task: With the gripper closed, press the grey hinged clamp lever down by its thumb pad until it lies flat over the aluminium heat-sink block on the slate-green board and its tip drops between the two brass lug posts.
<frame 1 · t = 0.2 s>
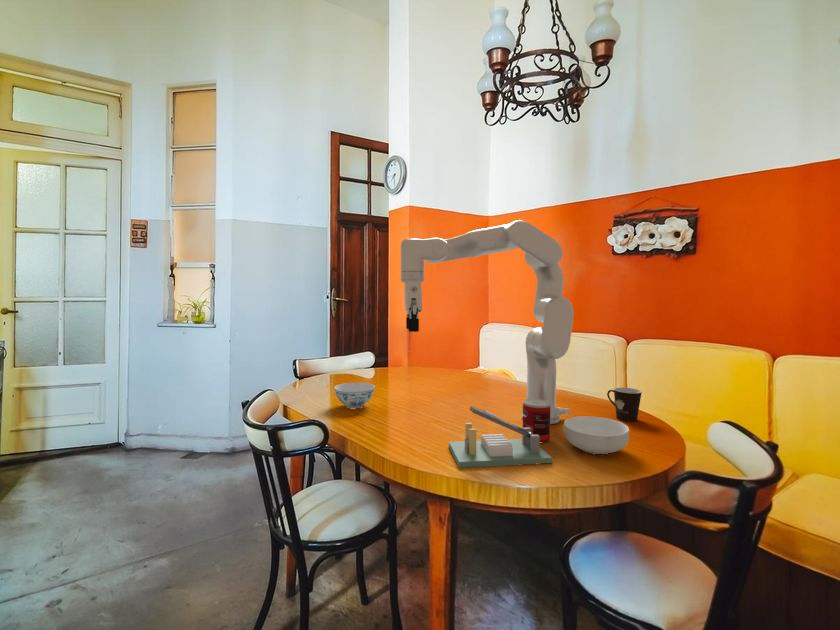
hand: (412, 330, 135), 31 cm above the table, tool pointing down, fingers open, 9 cm apart
grey hinged clamp lever: (502, 422, 110), point 9 cm above the table, hinge at 25.0°
canned food: (535, 439, 123), on the table
chinaware: (354, 407, 157), on the table
coffee mug: (624, 418, 144), on the table
cereal bowl: (595, 450, 115), on the table
clamp board: (497, 454, 110), on the table
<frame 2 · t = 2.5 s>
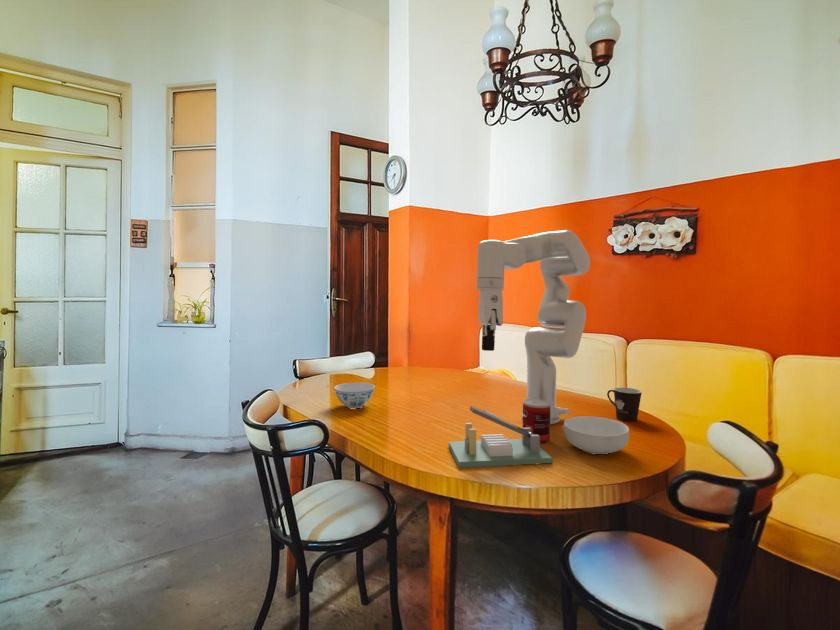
hand: (487, 350, 117), 27 cm above the table, tool pointing down, fingers closed
nothing on the table moved.
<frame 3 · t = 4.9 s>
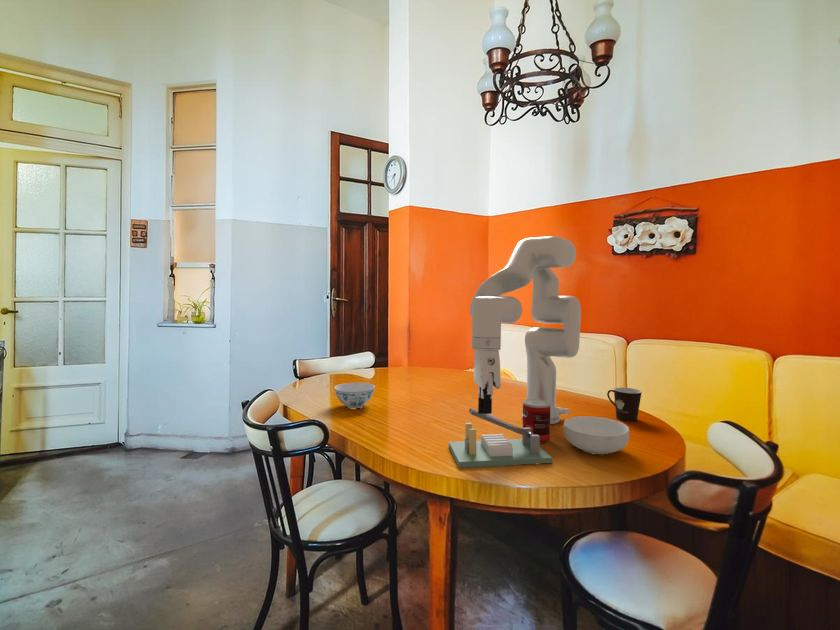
hand: (484, 412, 109), 12 cm above the table, tool pointing down, fingers closed
grey hinged clamp lever: (502, 423, 110), point 8 cm above the table, hinge at 23.1°, touching gripper
everything else where it was.
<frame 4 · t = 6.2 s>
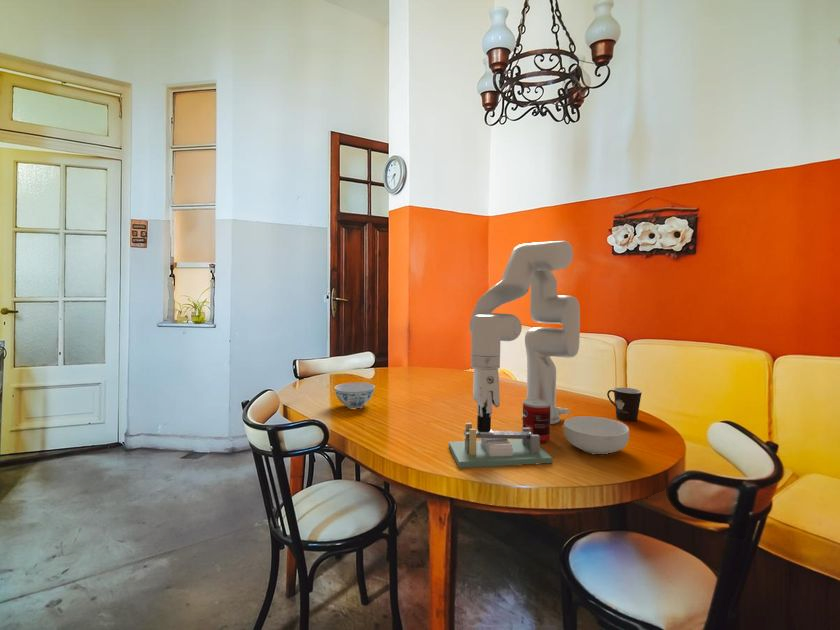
hand: (483, 430, 109), 7 cm above the table, tool pointing down, fingers closed
grey hinged clamp lever: (499, 434, 110), point 6 cm above the table, hinge at 3.3°, touching gripper
everything else where it was.
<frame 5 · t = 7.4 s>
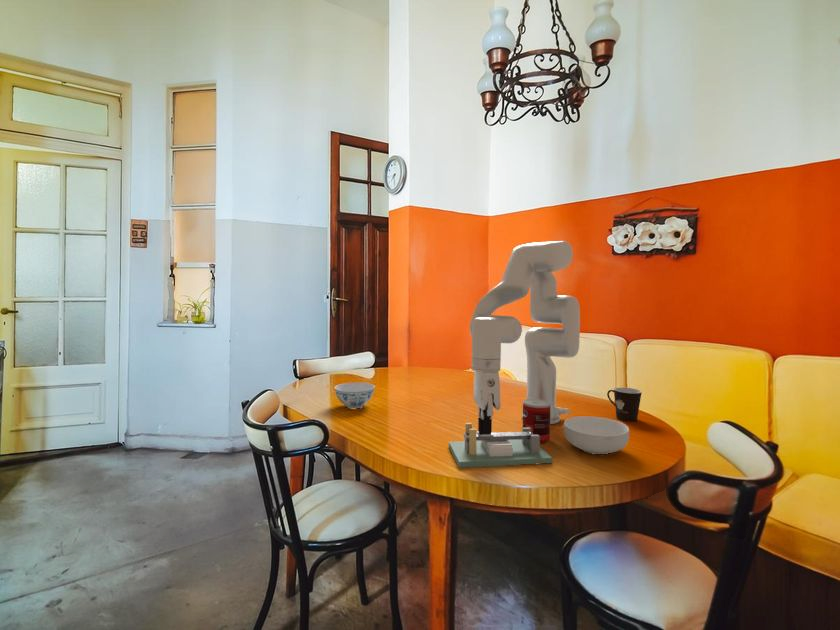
hand: (484, 433, 109), 6 cm above the table, tool pointing down, fingers closed
grey hinged clamp lever: (499, 435, 110), point 5 cm above the table, hinge at 0.6°, touching gripper
everything else where it was.
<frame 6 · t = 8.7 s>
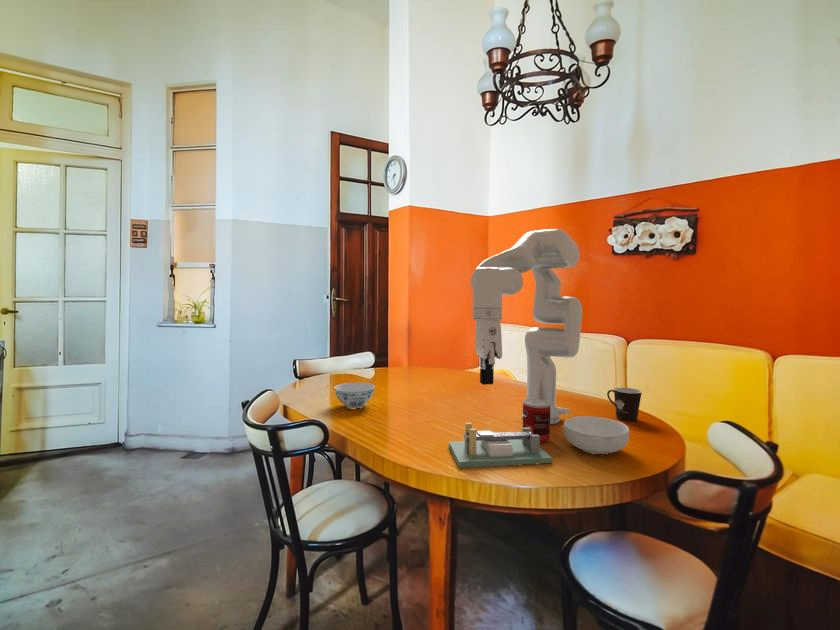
hand: (486, 383, 110), 19 cm above the table, tool pointing down, fingers closed
grey hinged clamp lever: (499, 435, 110), point 5 cm above the table, hinge at 0.6°
everything else where it was.
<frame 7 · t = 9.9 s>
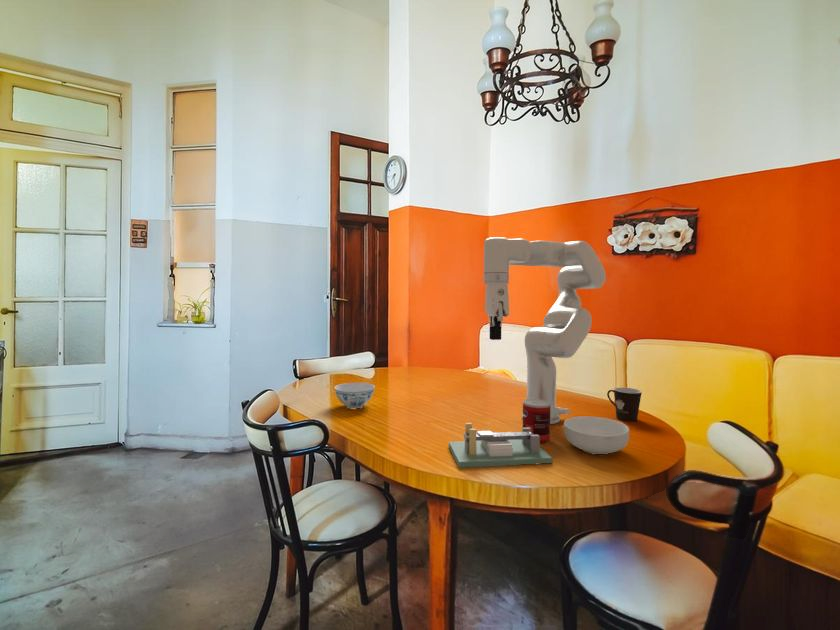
hand: (495, 339, 126), 29 cm above the table, tool pointing down, fingers closed
nothing on the table moved.
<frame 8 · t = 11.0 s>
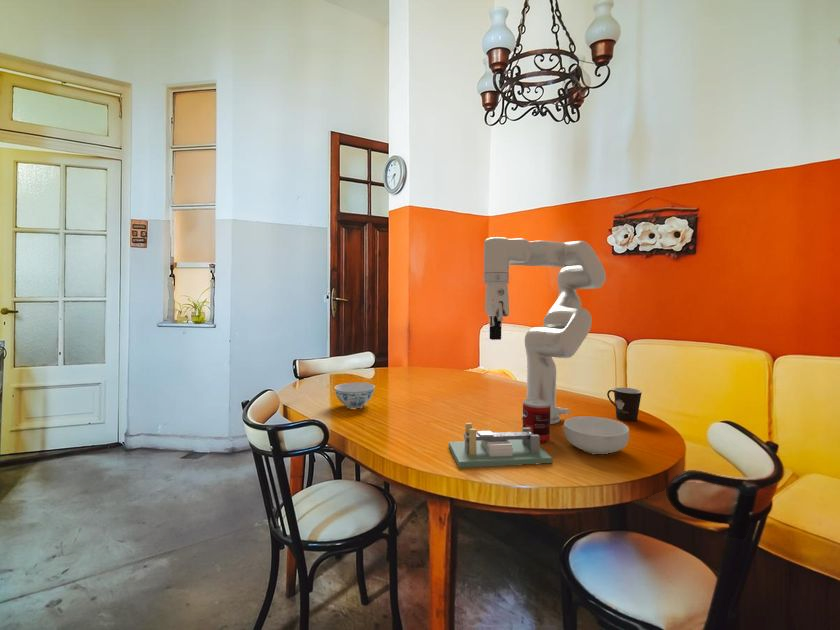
hand: (495, 339, 126), 29 cm above the table, tool pointing down, fingers closed
nothing on the table moved.
at the end: grey hinged clamp lever at +1° (first picture: +25°) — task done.
